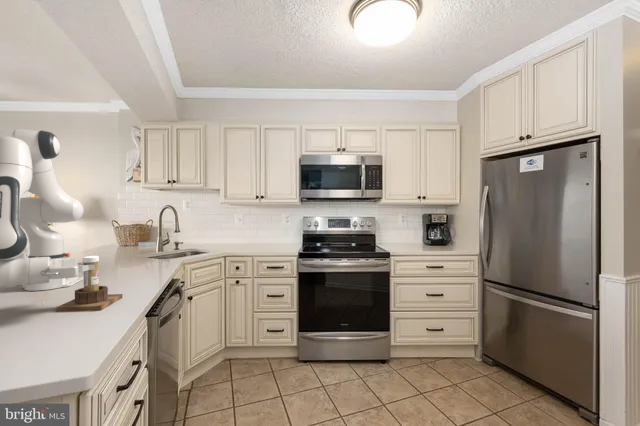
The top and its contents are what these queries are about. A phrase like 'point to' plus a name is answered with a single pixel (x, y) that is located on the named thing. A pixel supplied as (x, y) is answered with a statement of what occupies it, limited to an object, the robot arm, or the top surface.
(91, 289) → the sprinkles bottle
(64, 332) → the top surface
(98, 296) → the walnut collar block
